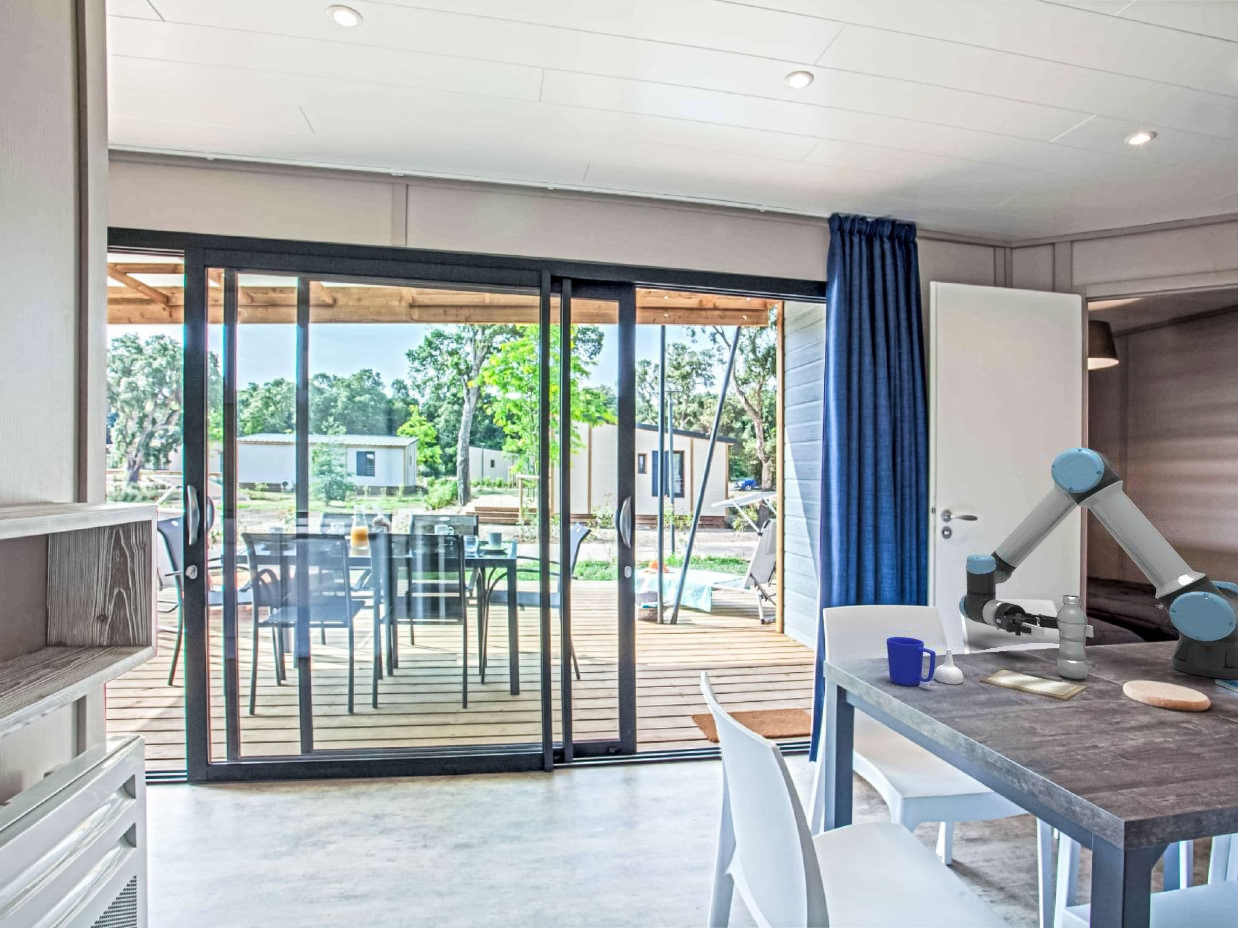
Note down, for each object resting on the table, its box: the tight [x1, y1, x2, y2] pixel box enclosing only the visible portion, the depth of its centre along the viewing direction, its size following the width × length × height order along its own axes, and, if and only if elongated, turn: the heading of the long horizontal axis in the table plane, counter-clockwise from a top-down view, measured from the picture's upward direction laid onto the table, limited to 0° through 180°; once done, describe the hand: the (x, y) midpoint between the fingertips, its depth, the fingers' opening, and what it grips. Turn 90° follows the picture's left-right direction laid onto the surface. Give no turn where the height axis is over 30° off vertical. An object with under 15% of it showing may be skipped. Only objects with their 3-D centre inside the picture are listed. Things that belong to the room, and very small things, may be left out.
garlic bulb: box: [933, 648, 964, 685], centre depth 163 cm, size 6×6×8 cm
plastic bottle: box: [1055, 594, 1089, 680], centre depth 166 cm, size 6×7×20 cm
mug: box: [886, 636, 937, 687], centre depth 160 cm, size 8×12×10 cm
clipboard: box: [979, 669, 1088, 701], centre depth 160 cm, size 18×14×1 cm
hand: (1067, 632), depth 167 cm, fingers open, 13 cm apart
